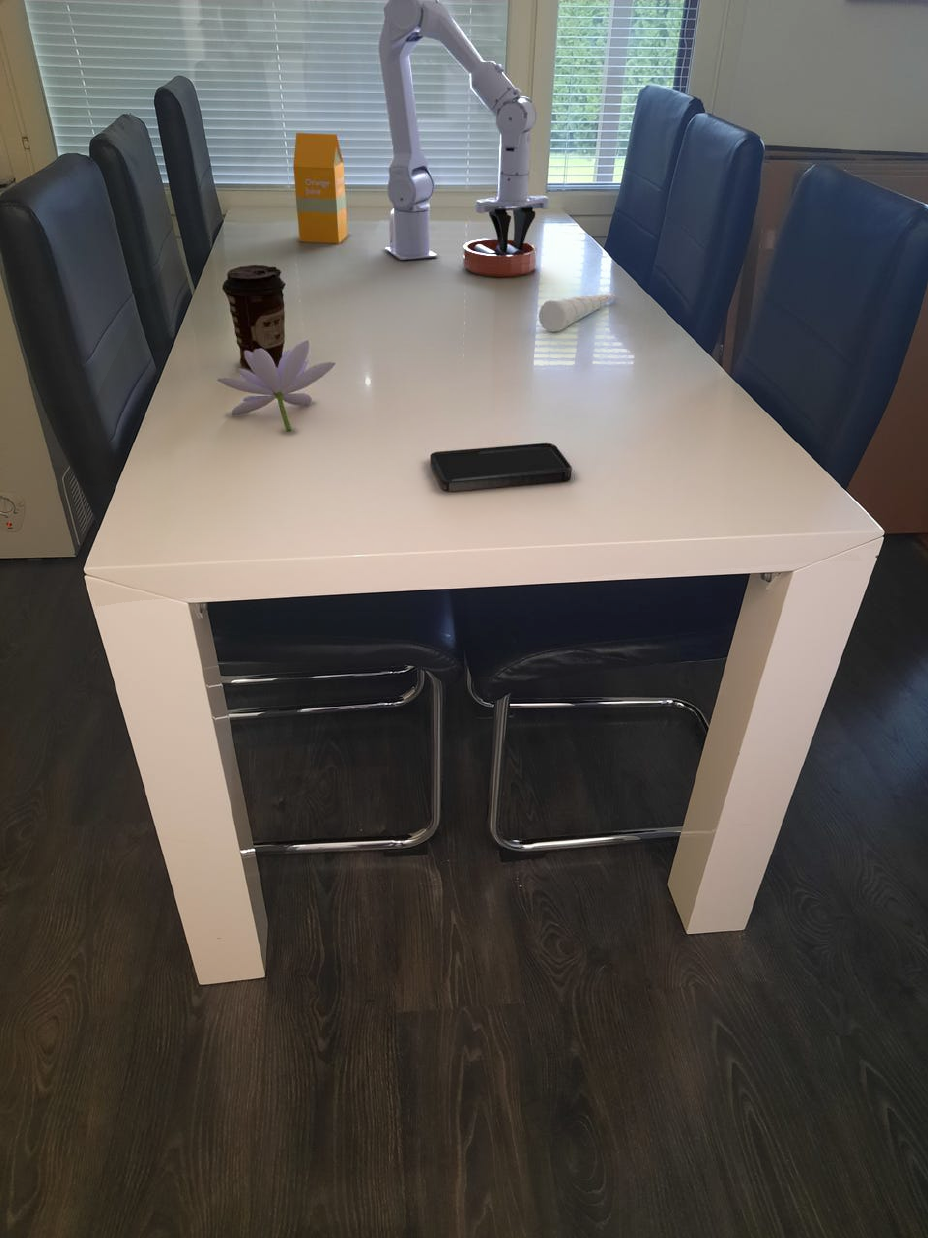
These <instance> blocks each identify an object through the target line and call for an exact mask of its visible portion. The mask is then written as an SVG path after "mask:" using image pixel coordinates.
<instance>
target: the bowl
mask: <svg viewBox="0 0 928 1238" xmlns="http://www.w3.org/2000/svg"><path fill="white" fill-rule="evenodd" d="M478 244H482V245H484V246H486V247H488V248H489V249H491V250H493V251H495V250H496V247H497V246H498V245H499V244H498V239H497V238H481V239H475V240H470V241H468V242H465V244H464V245H462V246H463V248H462V249H463V251H462V253H463V255H462V264H463V266H464V268H465V269H467V271H469V272H470V273H473V274H475V275H476V274H477V275H479V276H483V277H484V276H485V277H492V278H513V277H520V276H521V277H522V276H524V275H528V274H530V273H531V272H532V271H534V270H535V269H536V266H537V255H538V254H537V253H538V248H537V246H536V245H535V244H533V243H531V242H527V241H524V243H523V246H522V250H521V251H523V252H524V253H525V254H519V255H488V254H482V253H477V252H474V251H472V249H473V248H474V247H475V246H476V245H478ZM508 244H509V245H511V246H513V247H514V238H508Z"/></svg>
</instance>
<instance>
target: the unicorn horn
mask: <svg viewBox="0 0 928 1238" xmlns="http://www.w3.org/2000/svg"><path fill="white" fill-rule="evenodd" d="M615 296H616V295H615V294H614V293H613V294H611V293H602V294H591V295H590V294H589V295H582V296H573V297H565V298H557V299H555V298H554V299H549V300H546V301H544V303H542V304H541V306H540V308H539V312H538V320H539V324H540V325H541V327H542V328H543V329H544V330H546V331H547V332H551V333H555V332H560V331H562V330H564V329H565V328H567V327H569V326H571V325H572V324H574V323H576V322H578V321H579V320H581V319H584V318H585V317H586V316H588V315H590V314H592V313H593V312H595V311H597V310H598V309H600V308H601V307H603V306H605V305H606V304H607V303H609V302H610V301H612V300H613V299H614V298H615Z"/></svg>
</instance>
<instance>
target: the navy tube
mask: <svg viewBox="0 0 928 1238" xmlns="http://www.w3.org/2000/svg"><path fill="white" fill-rule="evenodd" d="M495 252H497V253H499V254H500V255H519V254H525V253H524V252H523V251H521V250H519V249H517V248H515V247H513V246H511V245H509V244H508V247H507V252H502V251H500V250H499V245H498V246H497V247H496V250H495Z"/></svg>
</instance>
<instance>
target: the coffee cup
mask: <svg viewBox="0 0 928 1238" xmlns="http://www.w3.org/2000/svg"><path fill="white" fill-rule="evenodd" d="M281 274H282V271H281V270H280V269H279V268H277V267H276V266H268V265H264V264H249V265H241V266H237V267H234V268H232V269H230V270H229V271H228V272H227V273H226V280H224V282H223V284H222V286H221V287H222V288H221V289H222V291H223V292H224V294H225V295H226V297H227V300H228V305H229V312H230V314H231V319H232V323H233V327H234V328H233V330H234V334H235V337H236V345H237V346H238V349H239V356H240V358H239V364H240V366H241V368H242V369H245V370H248V371H250V372H253V371H252V369H251V368H250V366H249V364H248V363H247V361H246V358H245V355H244V351H250V352H252V353H253V352H254V350H255V349H260V348H261V349H263V350H265V351H266V352H267V353H268V354H269V355H270V356H271V357H272V359H273V361H274V364H275V366H276V368H277V369H278V365H279V362H280V359H281V358H282V356H283V354H284V345H285V341H286V340H285V339H286V333H285V331H286V330H285V329H286V328H285V327H286V326H285V323H286V322H285V321H286V310H285V301H284V293H283V290H284V289H285V287H286V285H287V284H286V283H285V281H284V280H283V279H282V278H281Z"/></svg>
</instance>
